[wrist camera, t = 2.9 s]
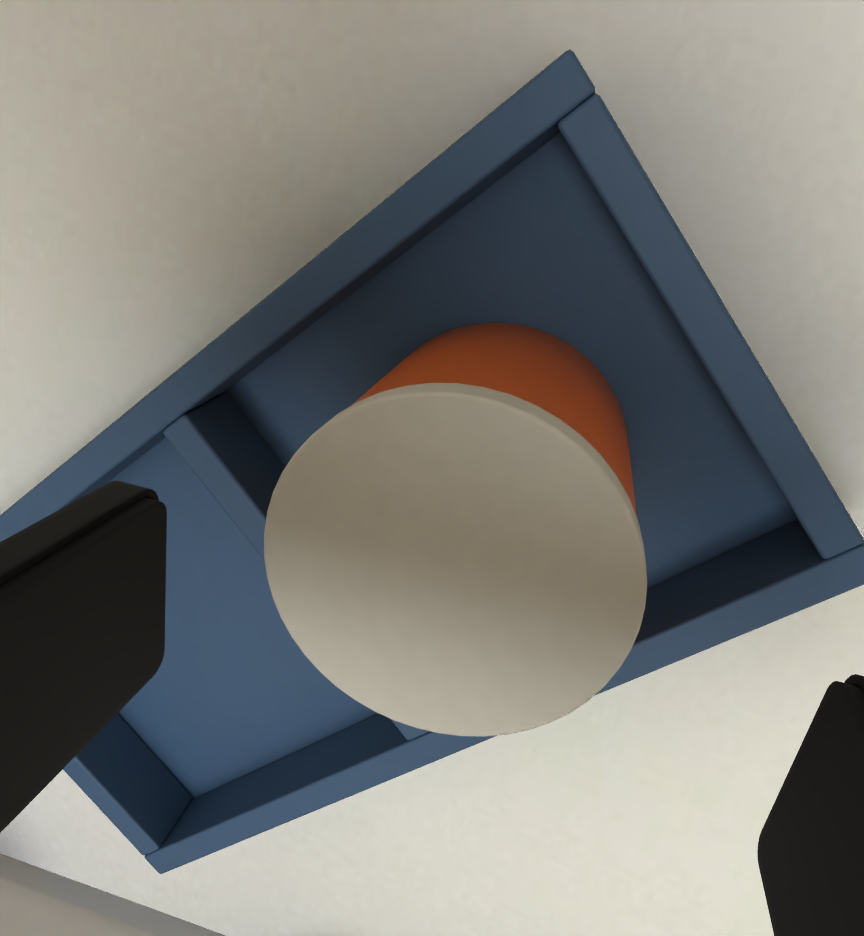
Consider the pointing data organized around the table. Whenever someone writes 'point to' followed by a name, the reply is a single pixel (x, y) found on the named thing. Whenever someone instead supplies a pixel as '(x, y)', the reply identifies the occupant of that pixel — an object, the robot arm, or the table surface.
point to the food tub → (465, 536)
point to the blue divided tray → (355, 372)
